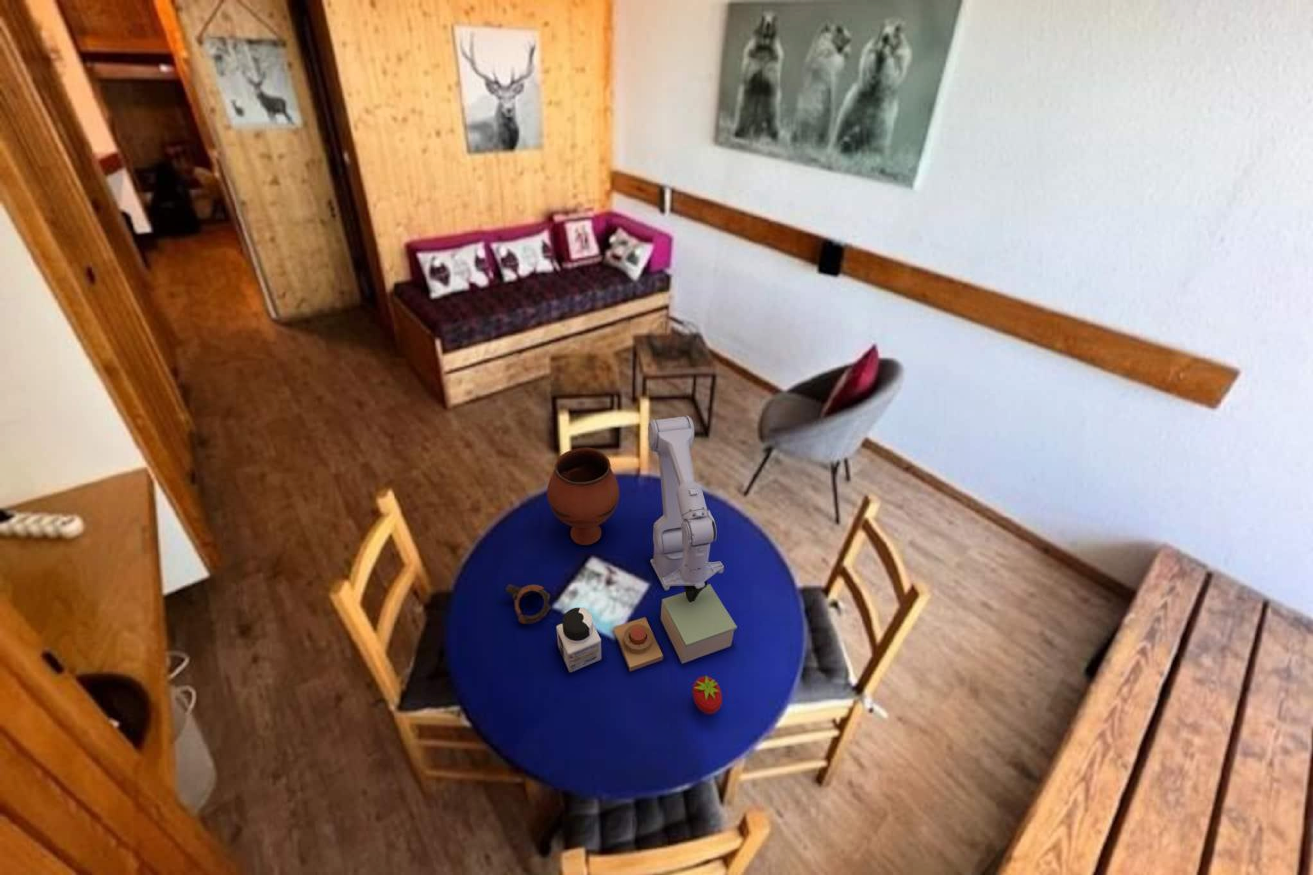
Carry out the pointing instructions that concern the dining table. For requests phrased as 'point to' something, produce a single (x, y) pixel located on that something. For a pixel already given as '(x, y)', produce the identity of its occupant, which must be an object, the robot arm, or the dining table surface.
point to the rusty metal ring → (526, 590)
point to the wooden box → (695, 649)
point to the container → (578, 639)
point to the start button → (637, 635)
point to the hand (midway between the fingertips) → (690, 598)
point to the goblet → (583, 492)
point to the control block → (637, 645)
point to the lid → (699, 616)
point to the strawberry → (707, 695)
